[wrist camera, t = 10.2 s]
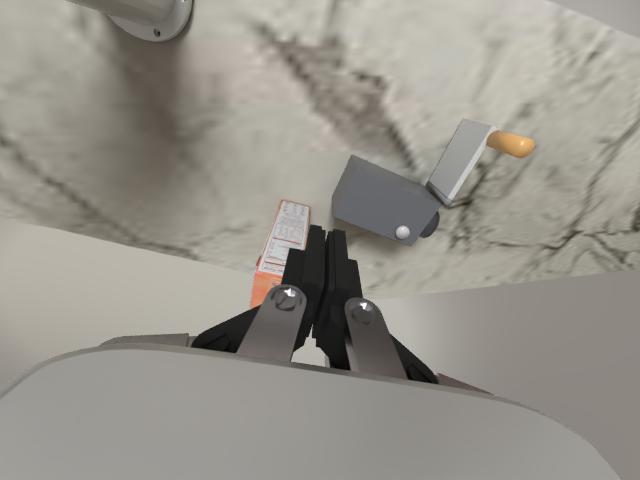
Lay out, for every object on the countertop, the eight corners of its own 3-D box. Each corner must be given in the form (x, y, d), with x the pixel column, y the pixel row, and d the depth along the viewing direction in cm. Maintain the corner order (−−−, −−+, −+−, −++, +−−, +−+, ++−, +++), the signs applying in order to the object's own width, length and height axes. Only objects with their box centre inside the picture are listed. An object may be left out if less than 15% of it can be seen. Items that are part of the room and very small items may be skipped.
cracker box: (297, 263, 53) (282, 353, 35) (270, 257, 52) (240, 345, 35) (313, 206, 46) (303, 282, 28) (281, 198, 45) (250, 271, 27)
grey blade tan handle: (462, 118, 37) (520, 133, 26) (476, 123, 37) (540, 140, 26) (425, 185, 43) (459, 221, 31) (437, 189, 43) (476, 226, 32)
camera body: (332, 196, 44) (332, 218, 37) (351, 154, 40) (356, 170, 33) (410, 228, 47) (426, 254, 40) (436, 191, 43) (458, 214, 36)
